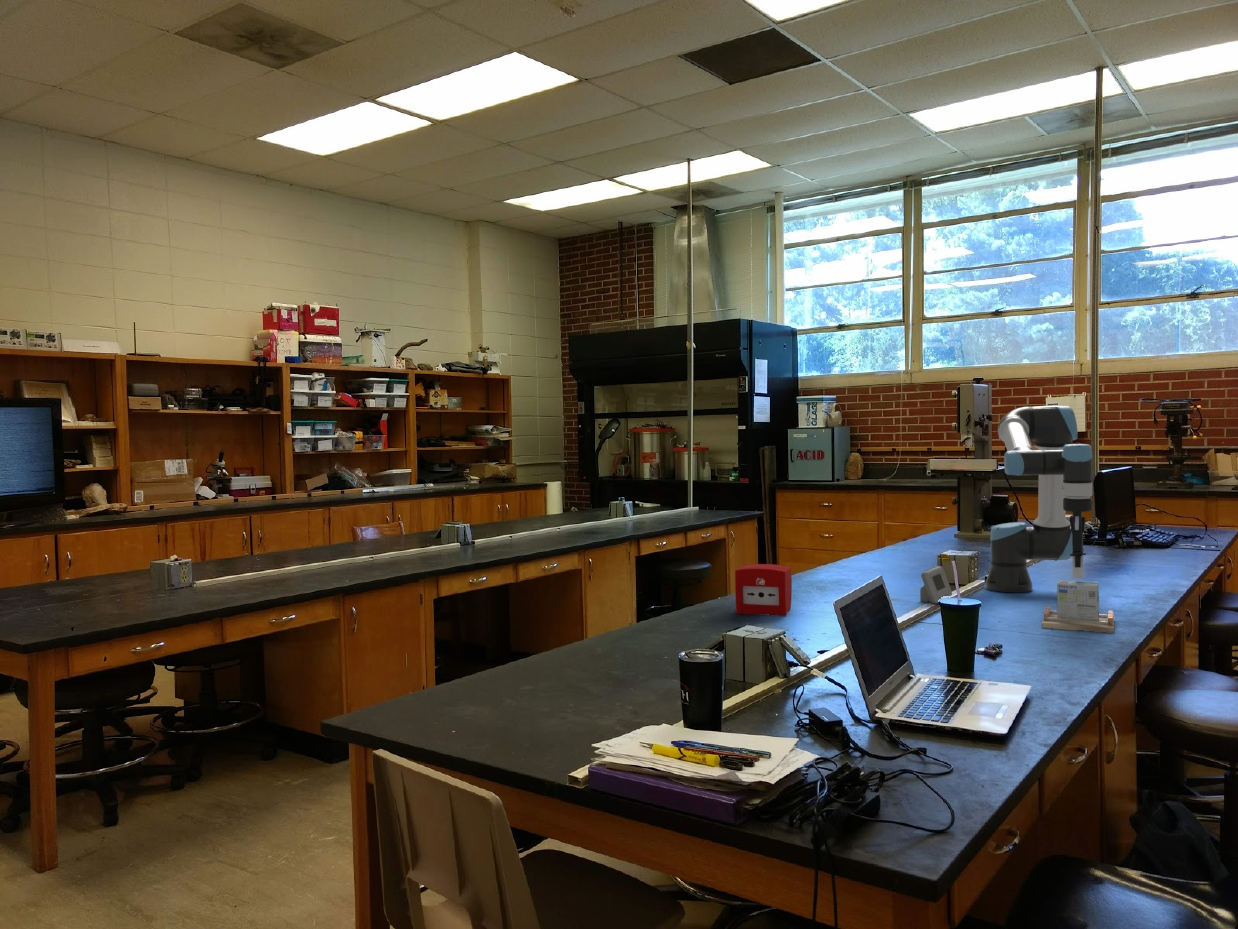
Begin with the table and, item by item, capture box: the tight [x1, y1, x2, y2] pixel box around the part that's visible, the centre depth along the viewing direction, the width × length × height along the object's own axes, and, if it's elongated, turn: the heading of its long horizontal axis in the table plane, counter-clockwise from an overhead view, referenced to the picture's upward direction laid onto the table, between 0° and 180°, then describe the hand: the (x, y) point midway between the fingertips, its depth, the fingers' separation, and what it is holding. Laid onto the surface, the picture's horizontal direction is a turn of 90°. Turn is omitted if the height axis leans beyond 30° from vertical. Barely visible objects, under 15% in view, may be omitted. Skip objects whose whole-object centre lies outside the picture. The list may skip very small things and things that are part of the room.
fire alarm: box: [734, 563, 793, 617], centre depth 286 cm, size 16×11×15 cm
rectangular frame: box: [1043, 605, 1114, 625], centre depth 257 cm, size 11×18×2 cm, turn 60°
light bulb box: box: [1056, 579, 1100, 621], centre depth 256 cm, size 11×7×11 cm, turn 60°
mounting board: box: [1041, 614, 1115, 634], centre depth 257 cm, size 18×18×2 cm
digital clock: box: [919, 565, 953, 604], centre depth 297 cm, size 16×9×11 cm, turn 130°
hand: (1078, 577), depth 256 cm, fingers closed
